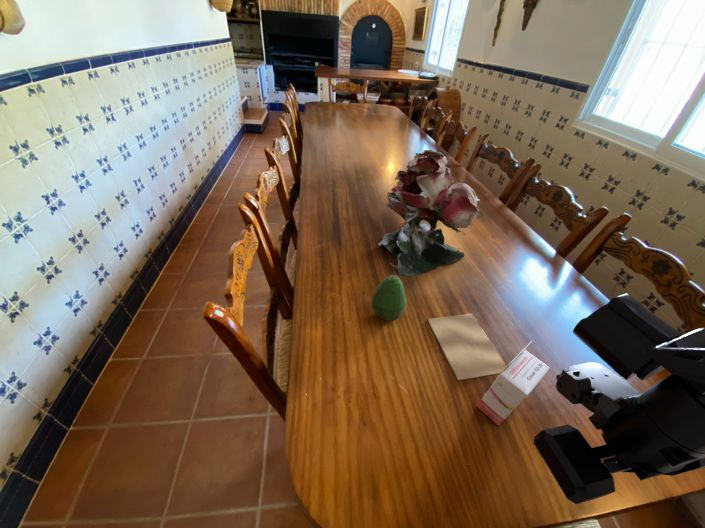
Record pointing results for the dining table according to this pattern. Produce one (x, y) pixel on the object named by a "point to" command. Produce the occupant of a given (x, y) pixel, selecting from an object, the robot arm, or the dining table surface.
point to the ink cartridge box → (512, 386)
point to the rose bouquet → (428, 214)
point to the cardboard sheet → (466, 347)
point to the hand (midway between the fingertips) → (583, 471)
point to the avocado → (389, 298)
